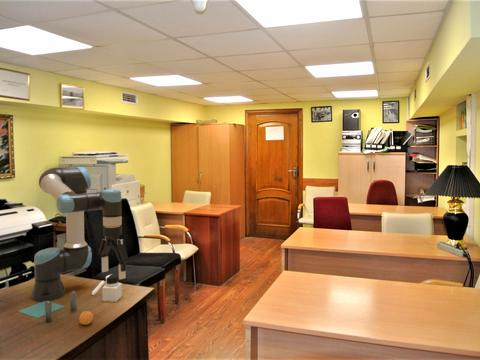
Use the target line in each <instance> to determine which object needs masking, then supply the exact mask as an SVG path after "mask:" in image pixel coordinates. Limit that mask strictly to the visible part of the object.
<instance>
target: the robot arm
mask: <svg viewBox="0 0 480 360" xmlns="http://www.w3.org/2000/svg"><path fill="white" fill-rule="evenodd" d="M91 181H92V180H91V175H90V173H89V171H88V169H87V168H86V167H85V166H84V167H82V166H67V167H51V168H49V169H46V170H45V171H44V172H43V173H42V174H41V175H40V177H39V179H38V186H39V188H40V189H41V190H42V191H43V192H44V193H47V194H49V195H50V196H51V197H53V199H55V200H56V208H57V211H58V212H59V213H61V214H65V226H66V227H65V229H66V233H65V235H66V237H65V238H66V242H65V243H64V244H63V249H60V248H59V247H48V248H47V247H46V248H45V249H41V250H39V251H37V252H36V253H35V254H34V257H33V258H34V260H33V261H34V262H33V265H34V266H33V267H34V284H33V288H32V291H31V294H30V295H31V300H33V301H37V302H43V301H47V300H51V301H53V300H56V299H60V298H61V297H63V296H64V295H65V294H66V291H65V290H66V289H65V286H64V283H63V281H62V278H61V277H62V275H61V274H62V273H63V274H64V273H67V272H74V271H78V270H79V271H81V270H82V269H87V268H88V267H89V266H90V265H91V263H92V258H93V257H92V256H93V252H92V248H91V247H90V245H88V243H87V242H86V241H85V212H89V211H98V210H99V211H100V210H102V226H103V227H102V228H103V229H102V233H103V235H101V242H100V245H99V249H98V251H97V252H98V255H100V258H101V273H105V272H109V252H110V250H111V249H112V250H113V252H114V253H115V255H116V257H117V260H118V262H119V263H118V280H123V279H126V273H127V271H126V270H127V268H126V264H127V263H129V262H130V260H129V259H130V258H129V255H128V252H127V249H126V245H125V244H126V243H125V239H124V238H120V236H122V234H123V226H122V224H123V223H122V221H123V217H122V200H123V199H122V198H123V197H122V191H121V190H120V189H116V188H110V189H109V188H108V189H104V190H103V191H102V190H101V191H96V192H89V193H88V192H87V191H88V190H89V189H91V185H92V182H91Z"/></svg>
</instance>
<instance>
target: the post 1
mask: <svg viewBox="0 0 480 360" xmlns="http://www.w3.org/2000/svg"><path fill="white" fill-rule="evenodd" d="M52 301H53V300H47V301H45V315H44V317H45V323H48V324H49V323H52V322H53V312H52V303H53V302H52Z"/></svg>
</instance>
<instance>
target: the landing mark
mask: <svg viewBox="0 0 480 360" xmlns="http://www.w3.org/2000/svg"><path fill="white" fill-rule="evenodd" d="M63 308H65V305H62V304H59V303H54V302H52V313H53V312H55V311H58V310H61V309H63ZM17 312H19V313H21V314H24V315H27V316H29V317H32V318H35V319H39V318H42V317H43V316H44V317H45V301H39V302H38V303H36V304H33V305H30V306H28V307H24V308H22V309H19V310H18V311H17Z"/></svg>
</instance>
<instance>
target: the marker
mask: <svg viewBox="0 0 480 360" xmlns="http://www.w3.org/2000/svg"><path fill="white" fill-rule="evenodd" d="M105 284H106V280H105V281H104V280H101V281H100V282H99V284H97V286H96V287H95V288H94V289H93V290H92V292H91V296H95V295H97V294H98V292H99V291H100V290H101V288H102V287H104V286H105Z"/></svg>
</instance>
